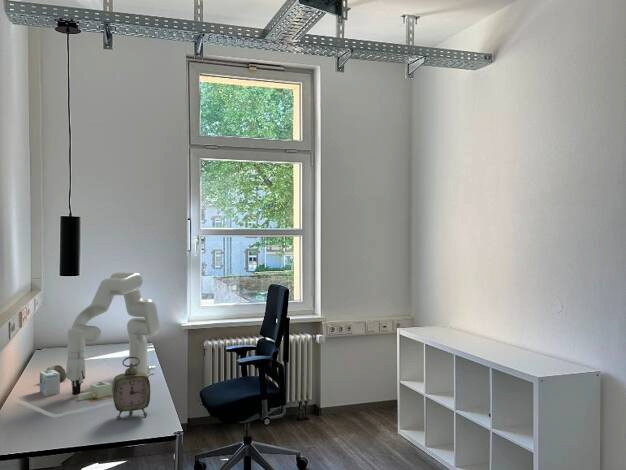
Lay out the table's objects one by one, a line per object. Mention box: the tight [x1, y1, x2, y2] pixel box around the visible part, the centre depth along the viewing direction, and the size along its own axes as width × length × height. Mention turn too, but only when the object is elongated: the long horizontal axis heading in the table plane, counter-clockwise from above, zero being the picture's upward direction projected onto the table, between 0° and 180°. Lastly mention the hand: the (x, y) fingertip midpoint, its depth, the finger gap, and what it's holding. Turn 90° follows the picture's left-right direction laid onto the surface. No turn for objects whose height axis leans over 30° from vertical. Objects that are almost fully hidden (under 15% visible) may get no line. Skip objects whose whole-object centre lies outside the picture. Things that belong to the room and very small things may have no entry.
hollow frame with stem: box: [77, 381, 113, 401], centre depth 262 cm, size 14×7×5 cm, turn 139°
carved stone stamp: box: [45, 364, 67, 383], centre depth 296 cm, size 11×9×10 cm
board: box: [68, 384, 113, 403], centre depth 268 cm, size 22×22×1 cm
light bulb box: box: [39, 370, 61, 397], centre depth 270 cm, size 11×7×11 cm, turn 40°
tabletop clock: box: [112, 356, 151, 421], centre depth 237 cm, size 14×9×25 cm, turn 114°
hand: (76, 394), depth 262 cm, fingers closed
